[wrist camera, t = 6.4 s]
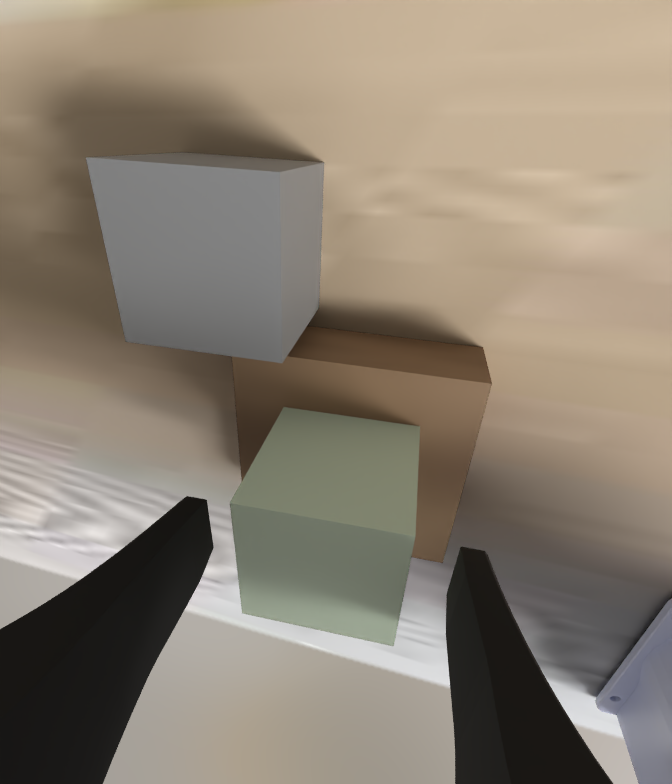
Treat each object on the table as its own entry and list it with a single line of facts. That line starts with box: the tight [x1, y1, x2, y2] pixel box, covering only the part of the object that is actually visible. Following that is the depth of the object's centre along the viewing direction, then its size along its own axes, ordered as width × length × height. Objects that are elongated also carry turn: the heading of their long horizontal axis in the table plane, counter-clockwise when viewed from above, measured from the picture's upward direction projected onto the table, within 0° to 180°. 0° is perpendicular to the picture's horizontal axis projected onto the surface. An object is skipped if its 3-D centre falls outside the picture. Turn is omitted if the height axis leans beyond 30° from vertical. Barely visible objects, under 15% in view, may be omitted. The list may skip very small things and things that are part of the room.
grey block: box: [86, 152, 324, 363], centre depth 12 cm, size 4×4×4 cm
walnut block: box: [232, 326, 492, 563], centre depth 16 cm, size 8×8×3 cm
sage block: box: [230, 407, 420, 646], centre depth 13 cm, size 4×4×4 cm
